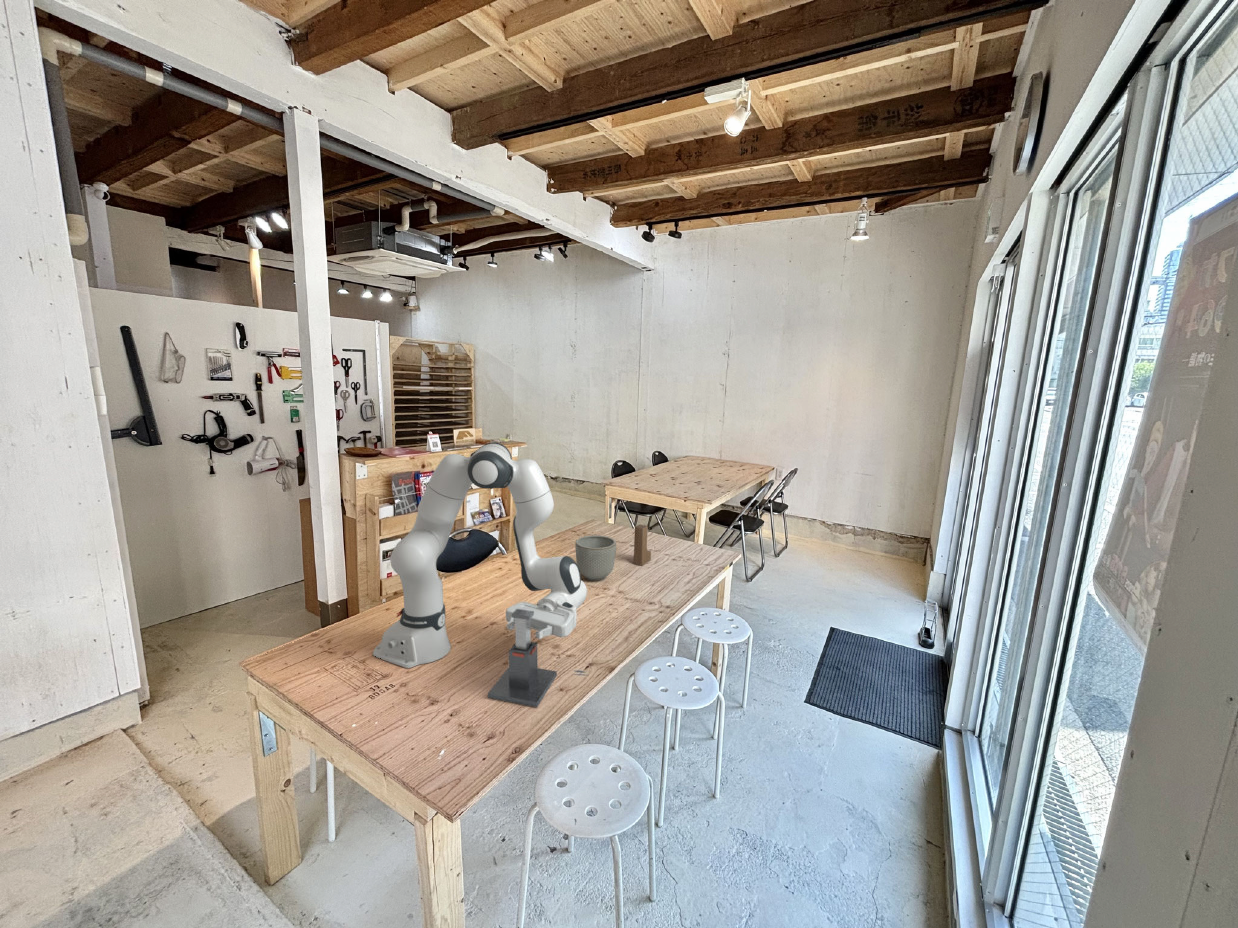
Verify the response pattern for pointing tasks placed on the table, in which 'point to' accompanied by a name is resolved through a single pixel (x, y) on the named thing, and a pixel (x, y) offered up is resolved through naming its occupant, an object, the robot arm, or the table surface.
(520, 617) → the column
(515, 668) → the stand
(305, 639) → the table surface
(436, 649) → the robot arm
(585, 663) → the table surface
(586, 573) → the planter
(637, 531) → the wooden block
